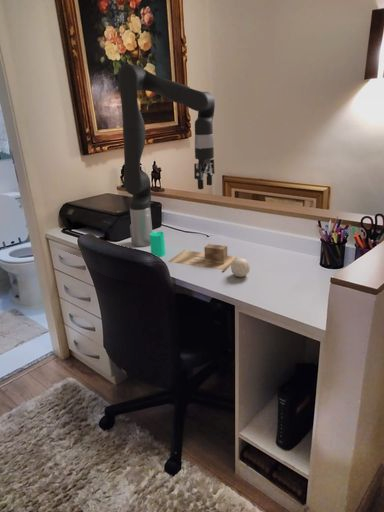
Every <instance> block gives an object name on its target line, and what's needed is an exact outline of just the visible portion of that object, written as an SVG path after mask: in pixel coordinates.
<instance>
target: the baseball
mask: <svg viewBox="0 0 384 512" xmlns="http://www.w3.org/2000/svg"><path fill="white" fill-rule="evenodd" d="M230 269H231V272H232V274H233V275H234V276H235V277H240V278H243V277H246V276H247V275H248V274H249V272H250V270H251V266H250V262H249V261H248V260H247V259H245V258H243V257H238V258H237V259H235V260H234V261H233V262H232V264H231V266H230Z"/></svg>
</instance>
